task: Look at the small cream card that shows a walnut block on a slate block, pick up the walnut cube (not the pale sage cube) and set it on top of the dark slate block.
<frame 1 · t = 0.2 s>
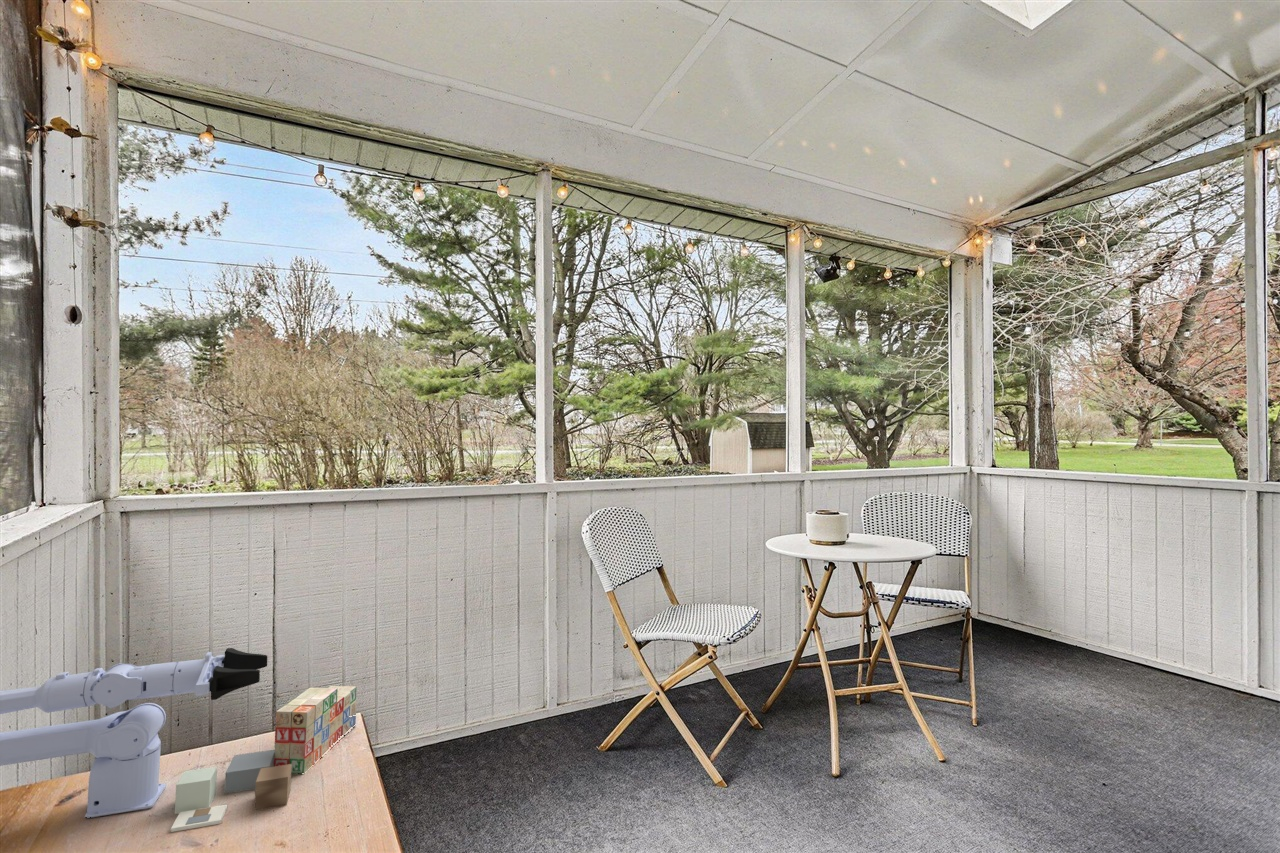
hand: (263, 668, 119), 21 cm above the table, tool horizontal, fingers open, 7 cm apart
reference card: (200, 819, 106), on the table
sage block: (195, 803, 111), on the table
walnut block: (272, 800, 112), on the table
slate block: (250, 782, 119), on the table
stack of blocks: (317, 749, 132), on the table
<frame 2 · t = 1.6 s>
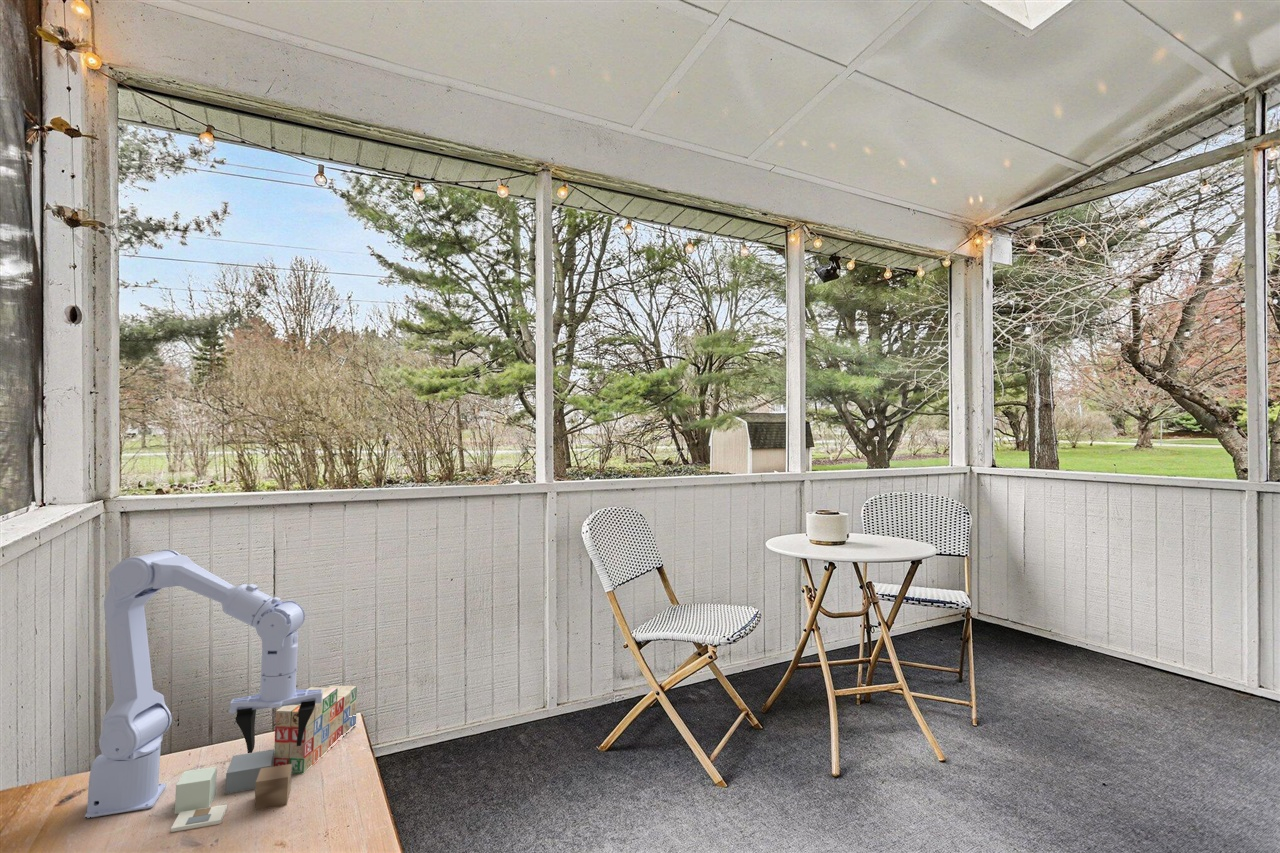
hand: (275, 747, 113), 9 cm above the table, tool pointing down, fingers open, 7 cm apart
nothing on the table moved.
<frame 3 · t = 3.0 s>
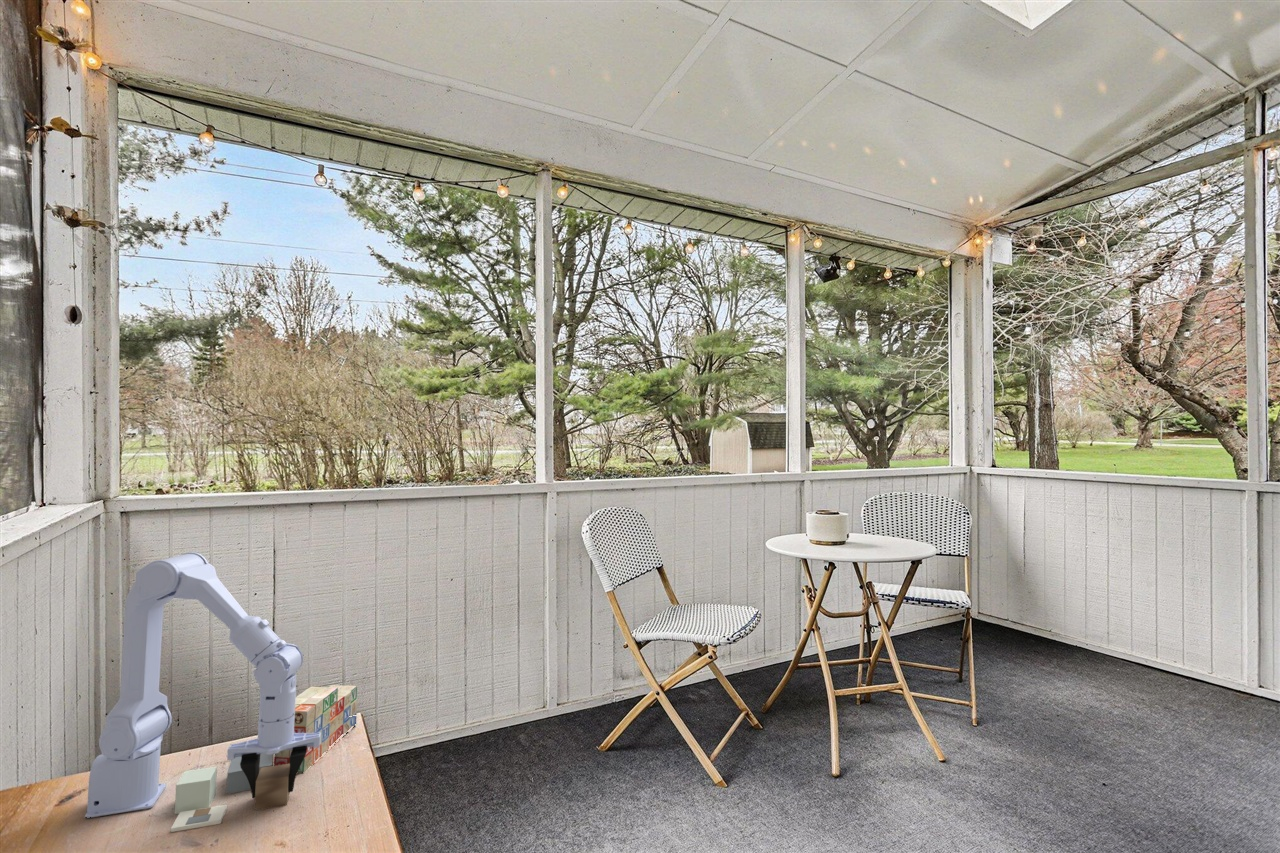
hand: (273, 792, 112), 1 cm above the table, tool pointing down, fingers closed on walnut block, 5 cm apart
walnut block: (273, 800, 112), on the table, touching gripper
everything else where it was.
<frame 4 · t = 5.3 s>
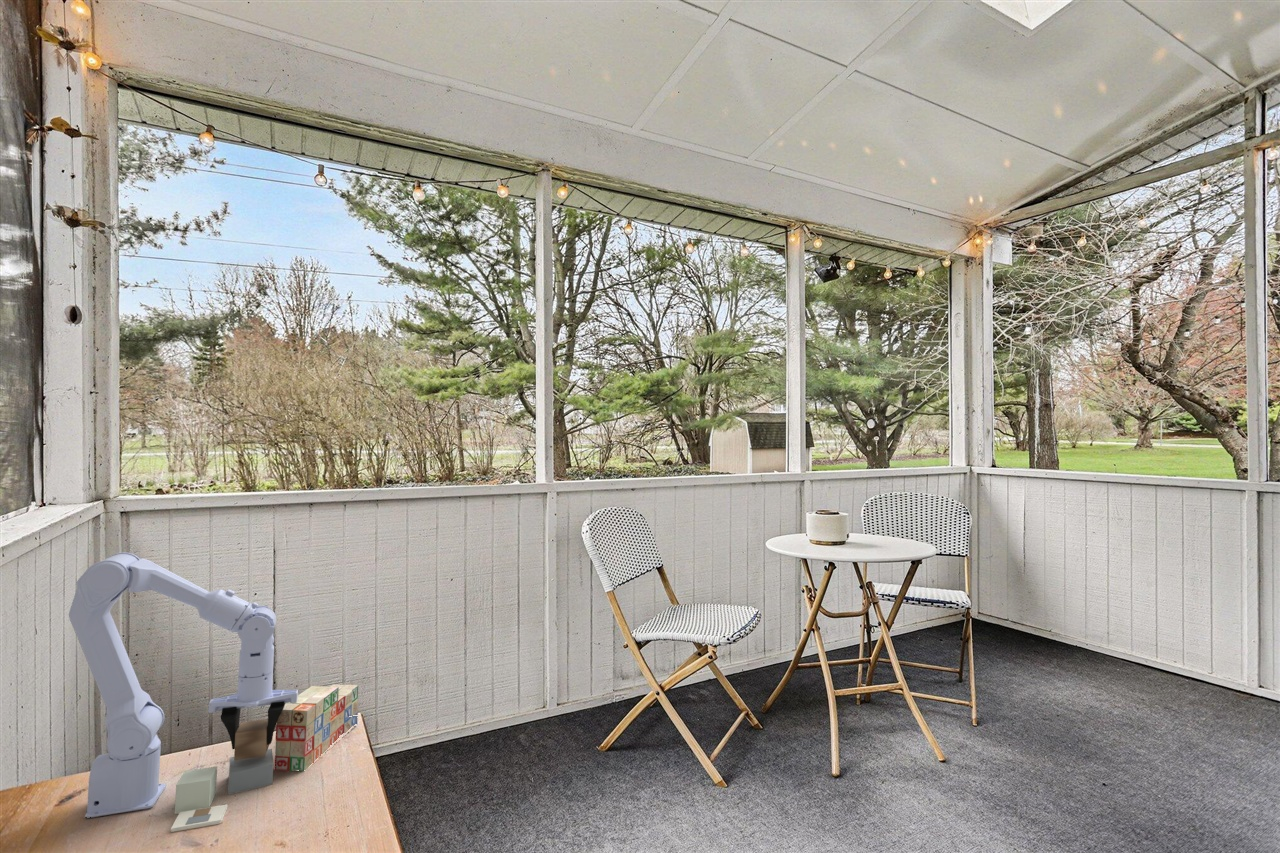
hand: (252, 744, 119), 7 cm above the table, tool pointing down, fingers closed on walnut block, 5 cm apart
walnut block: (252, 752, 119), point 5 cm above the table, touching gripper
stack of blocks: (318, 747, 133), on the table, touching gripper
everything else where it was.
when the fingers open (7 cm above the table, at t = 5.8 s): walnut block drops 1 cm, point 4 cm above the table.
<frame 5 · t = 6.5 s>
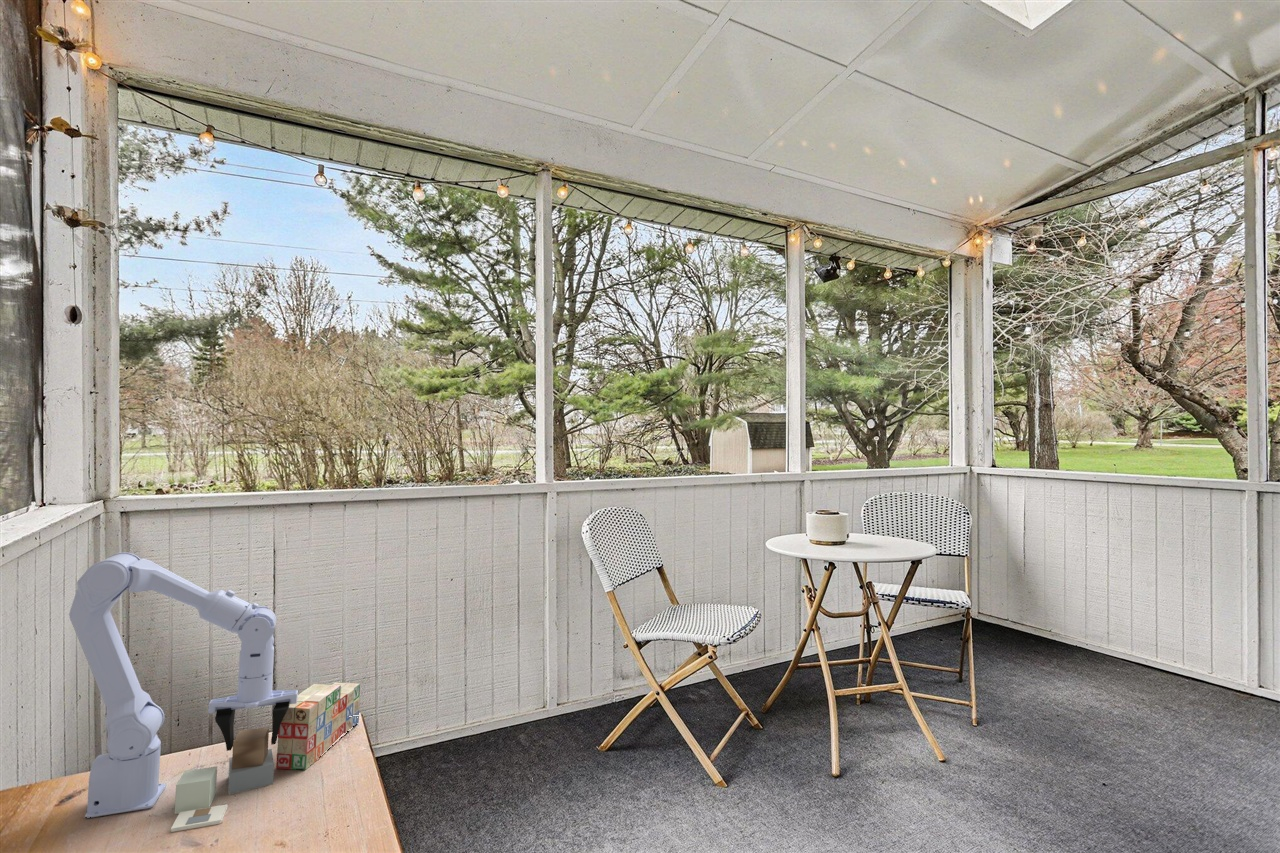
hand: (252, 745, 119), 7 cm above the table, tool pointing down, fingers open, 7 cm apart
walnut block: (250, 761, 119), point 4 cm above the table
everything else where it was.
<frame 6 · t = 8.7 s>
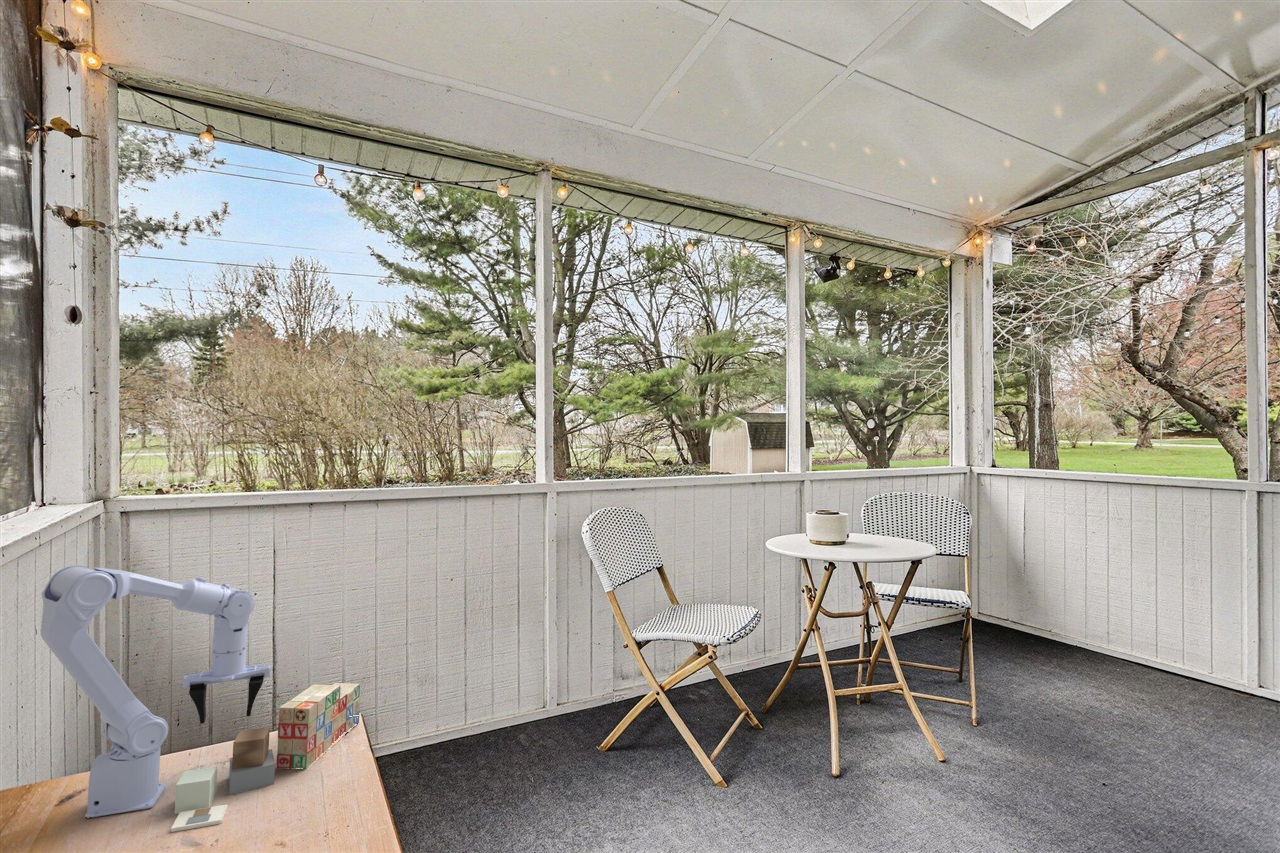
hand: (226, 717, 124), 9 cm above the table, tool pointing down, fingers open, 7 cm apart
walnut block: (250, 761, 119), point 4 cm above the table, touching slate block
slate block: (251, 782, 119), on the table, touching walnut block
stack of blocks: (320, 745, 134), on the table
everything else where it was.
at the end: walnut block 0.4 cm off-centre on the slate block, point 4.0 cm above the slate block's base; walnut block tilted 0°; sage block moved 0.1 cm from its start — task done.
